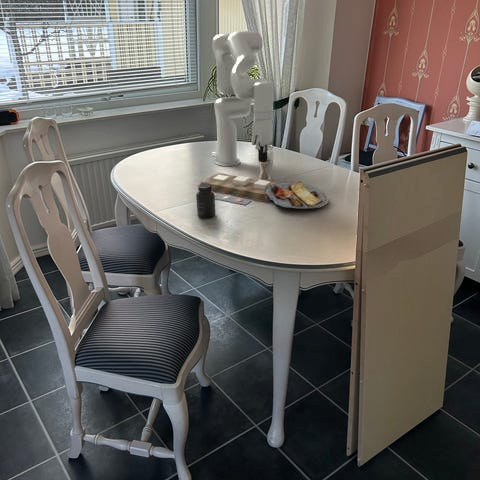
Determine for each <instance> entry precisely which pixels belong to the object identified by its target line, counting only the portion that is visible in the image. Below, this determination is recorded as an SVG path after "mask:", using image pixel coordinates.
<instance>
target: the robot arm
mask: <svg viewBox="0 0 480 480" xmlns="http://www.w3.org/2000/svg"><path fill="white" fill-rule="evenodd" d="M263 44H264V42H263V37H262V35H261V34H260V33H259V32H258V31H256V30H250V31H249V30H248V31H247V30H246V31H245V30H243V31H241V30H240V31H234V32H232V33H220V34H216V35H215V36H213V39H212V46H211V47H212V52H213V56H214V58H215V62H216V89H217V91H218V94H221V95H223V96H224V95H226V97H225V96H224V97H219V98H217V99H216V100H215V101H214V105H213V107H214V112H215V113H214V114H215V121H216V135H217V137H216V138H217V139H216V141H217V145H216V146H217V152H215V151H212V153H211V158H215V160H214V164H215V165H217V166H221V167H234V166H237V165H239V164H240V163H241V160H240V158H238V148H237V147H238V145H237V144H238V143H237V141H238V140H237V138H238V137H237V136H238V135H237V134H238V133H237V131H238V130H237V125H236V123H235V122H234V121H233V120H232V119H234V118H243V117H247V116H249V115H250V114H251V110H252V100H253V122H252V127H251V145H252V146H255V147H254V149H255V150H256V151H257V154H258V156H257V157H258V158H257V161H258V163H259V162H266V161H267V152H266V151H268V145H271V143H272V142H273V139H274V138H273V137H274V126H273V125H274V124H273V123H274V122H273V120H274V83H273V82H272V81H269V80H268V79H267V78H251V77H250V75H249V74H248V73H247V72H249V71H250V70H252V69H253V68H254V67H255V65H256V63H257V58H256V55H255V54H258V53H260V52H261V51H262V49H263ZM227 95H229V96H227ZM230 95H235V96H230Z"/></svg>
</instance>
